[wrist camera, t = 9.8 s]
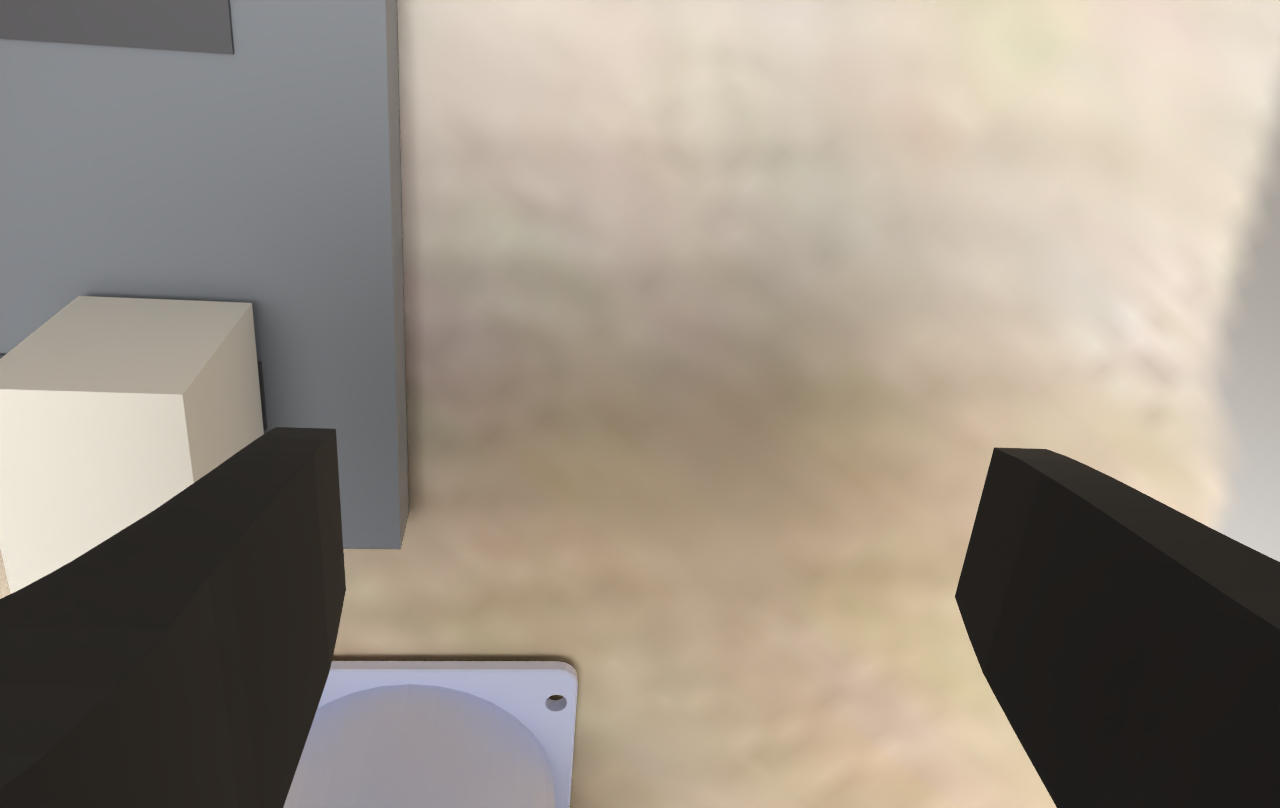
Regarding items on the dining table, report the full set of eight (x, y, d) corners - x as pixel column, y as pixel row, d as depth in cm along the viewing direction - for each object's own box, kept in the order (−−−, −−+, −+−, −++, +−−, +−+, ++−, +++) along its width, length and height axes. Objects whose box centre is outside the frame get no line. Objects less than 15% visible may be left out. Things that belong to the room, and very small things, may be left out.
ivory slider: (269, 492, 20) (210, 616, 16) (110, 489, 20) (15, 615, 16) (252, 302, 18) (182, 394, 15) (78, 295, 18) (-36, 387, 14)
